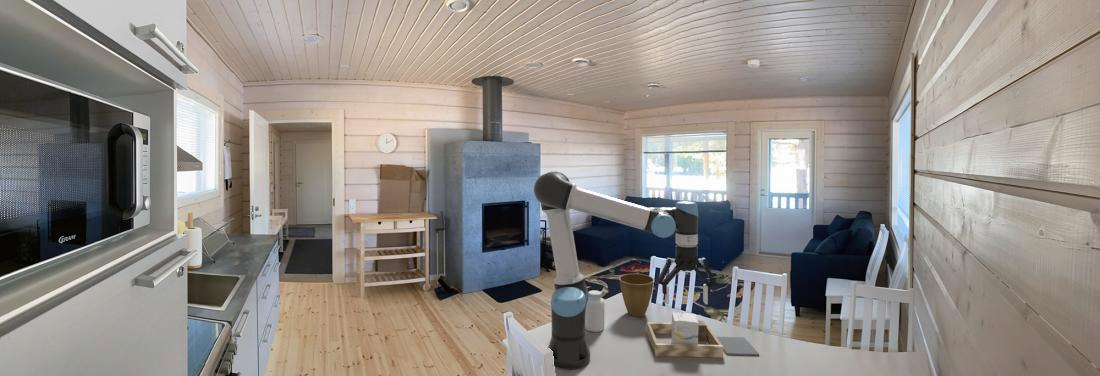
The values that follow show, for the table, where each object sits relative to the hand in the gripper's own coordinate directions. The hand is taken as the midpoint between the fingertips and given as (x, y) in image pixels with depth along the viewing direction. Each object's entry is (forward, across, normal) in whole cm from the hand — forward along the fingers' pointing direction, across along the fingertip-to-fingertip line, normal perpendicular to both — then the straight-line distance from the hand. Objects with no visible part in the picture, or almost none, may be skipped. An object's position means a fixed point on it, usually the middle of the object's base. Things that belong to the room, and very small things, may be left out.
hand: (686, 302), depth 147 cm
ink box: (+17, 0, 0) cm, 17 cm away
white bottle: (+17, -32, +15) cm, 39 cm away
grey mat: (+17, +18, +2) cm, 25 cm away
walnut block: (+17, +7, +8) cm, 20 cm away
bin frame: (+17, 0, +3) cm, 17 cm away
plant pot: (+17, -14, +31) cm, 38 cm away
